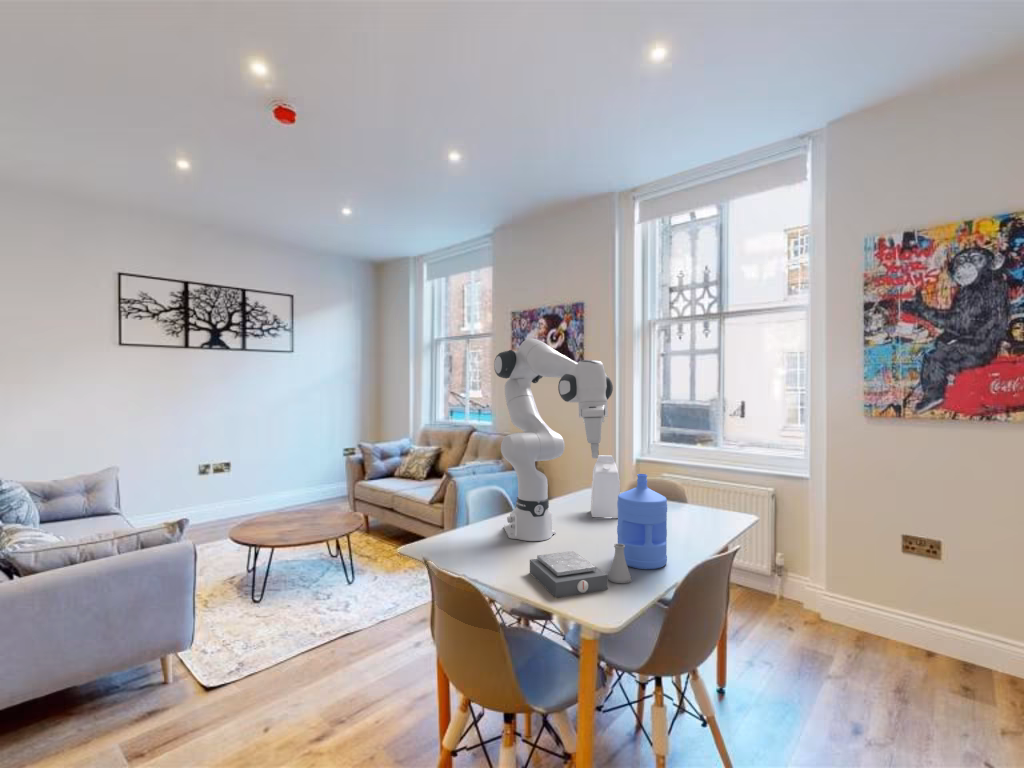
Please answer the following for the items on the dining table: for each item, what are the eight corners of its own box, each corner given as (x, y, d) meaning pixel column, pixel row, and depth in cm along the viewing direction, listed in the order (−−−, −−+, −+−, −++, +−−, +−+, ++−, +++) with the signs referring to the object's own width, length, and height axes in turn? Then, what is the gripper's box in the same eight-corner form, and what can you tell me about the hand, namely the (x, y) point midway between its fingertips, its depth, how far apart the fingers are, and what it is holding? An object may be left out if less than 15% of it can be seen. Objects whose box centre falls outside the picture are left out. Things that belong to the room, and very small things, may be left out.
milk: (617, 511, 218) (617, 454, 218) (620, 518, 206) (621, 457, 206) (590, 510, 219) (590, 453, 219) (592, 517, 207) (592, 457, 207)
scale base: (529, 572, 146) (529, 559, 146) (576, 566, 151) (576, 553, 151) (556, 598, 128) (556, 583, 128) (608, 590, 134) (609, 575, 134)
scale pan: (537, 558, 145) (537, 555, 145) (572, 554, 150) (572, 550, 150) (557, 576, 132) (557, 572, 132) (595, 570, 136) (595, 566, 136)
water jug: (611, 553, 164) (611, 470, 164) (656, 552, 164) (657, 470, 165) (624, 570, 148) (625, 479, 148) (674, 570, 149) (675, 479, 149)
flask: (628, 574, 145) (628, 541, 145) (634, 584, 138) (635, 549, 138) (604, 574, 145) (604, 541, 145) (609, 584, 138) (610, 549, 138)
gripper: (584, 412, 159) (586, 454, 158) (581, 411, 139) (583, 459, 138) (603, 411, 158) (606, 454, 157) (603, 410, 138) (606, 459, 136)
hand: (595, 457), depth 147 cm, fingers open, 8 cm apart
